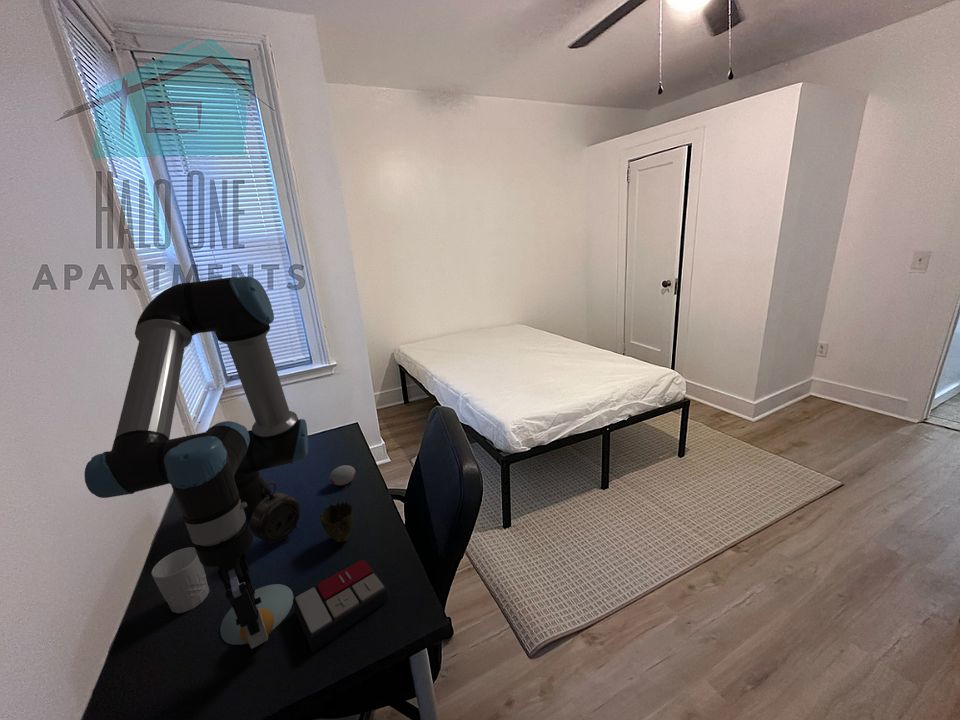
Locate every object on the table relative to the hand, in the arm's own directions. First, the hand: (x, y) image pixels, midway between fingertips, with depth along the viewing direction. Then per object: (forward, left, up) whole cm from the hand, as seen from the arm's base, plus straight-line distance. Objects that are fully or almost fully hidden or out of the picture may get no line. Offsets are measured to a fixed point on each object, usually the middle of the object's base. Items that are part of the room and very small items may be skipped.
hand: (259, 641), depth 69 cm
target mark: (-10, +2, -2) cm, 10 cm away
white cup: (-25, -7, -3) cm, 26 cm away
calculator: (+2, +14, -3) cm, 15 cm away
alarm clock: (-28, +13, -3) cm, 31 cm away
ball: (-3, +1, 0) cm, 3 cm away
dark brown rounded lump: (-16, +23, -3) cm, 28 cm away
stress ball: (-39, +34, -3) cm, 52 cm away
